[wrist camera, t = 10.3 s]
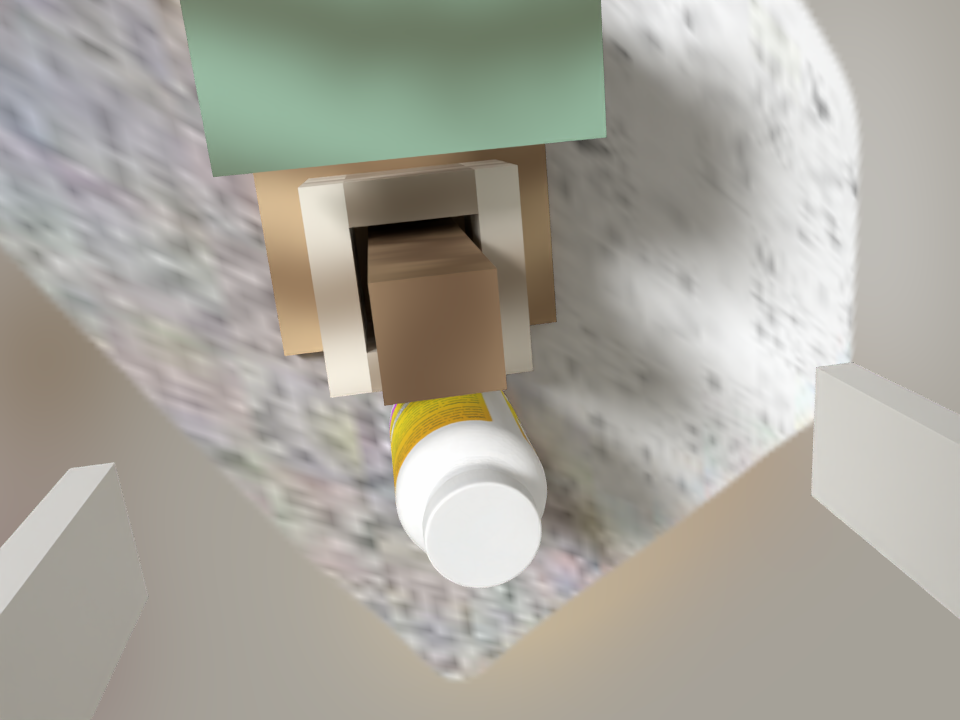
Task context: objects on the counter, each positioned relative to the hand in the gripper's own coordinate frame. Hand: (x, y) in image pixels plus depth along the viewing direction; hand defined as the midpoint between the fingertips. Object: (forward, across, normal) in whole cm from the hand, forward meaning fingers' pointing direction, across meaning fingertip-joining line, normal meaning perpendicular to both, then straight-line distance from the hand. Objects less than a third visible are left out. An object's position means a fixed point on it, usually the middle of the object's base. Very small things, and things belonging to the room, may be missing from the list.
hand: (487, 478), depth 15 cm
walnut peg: (+26, 0, 0) cm, 26 cm away
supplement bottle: (+27, +1, -9) cm, 28 cm away
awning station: (+27, 0, +5) cm, 27 cm away
